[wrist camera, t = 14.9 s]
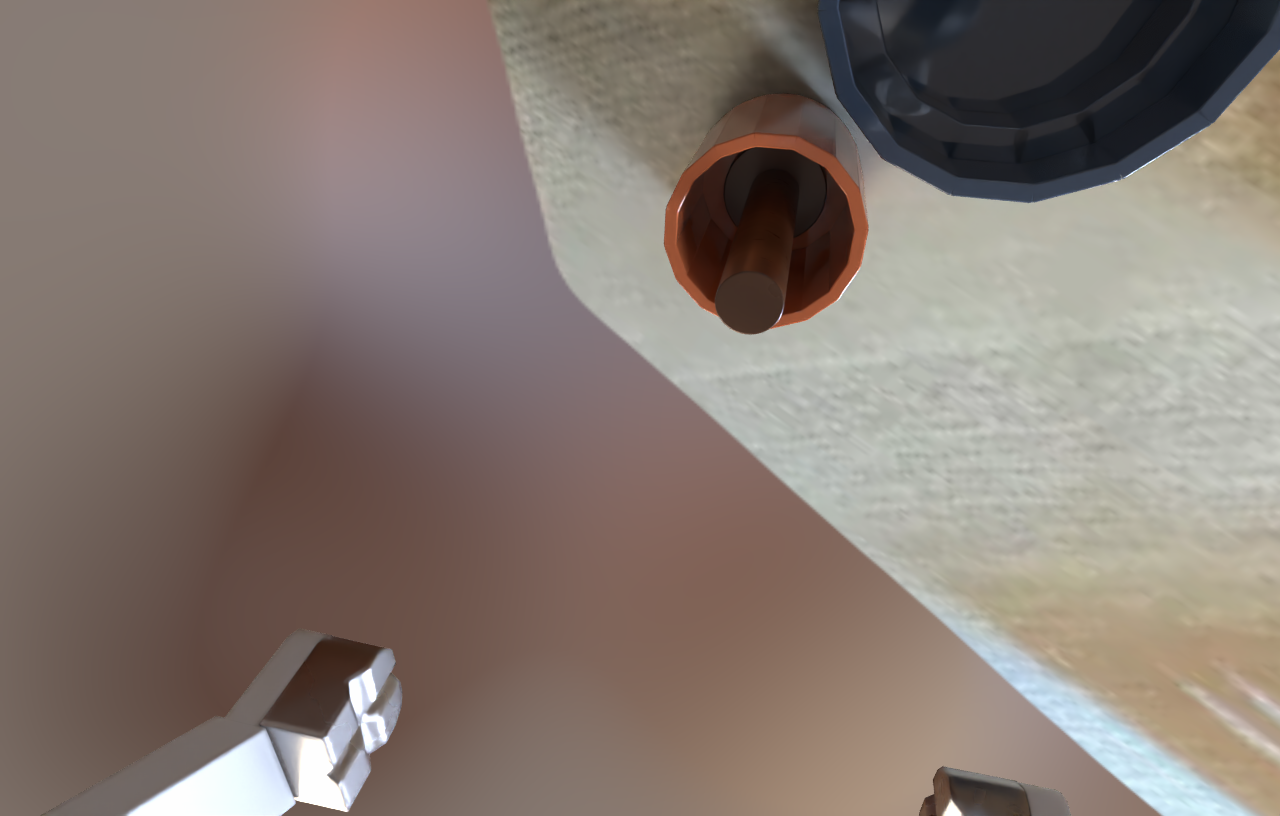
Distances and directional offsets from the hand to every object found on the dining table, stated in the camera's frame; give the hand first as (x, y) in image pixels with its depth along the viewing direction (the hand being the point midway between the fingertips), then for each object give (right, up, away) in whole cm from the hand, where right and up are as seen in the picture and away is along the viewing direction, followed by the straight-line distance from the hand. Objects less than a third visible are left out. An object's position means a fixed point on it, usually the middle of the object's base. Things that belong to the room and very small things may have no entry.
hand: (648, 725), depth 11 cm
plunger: (+6, +15, +23) cm, 28 cm away
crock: (+6, +15, +24) cm, 29 cm away
